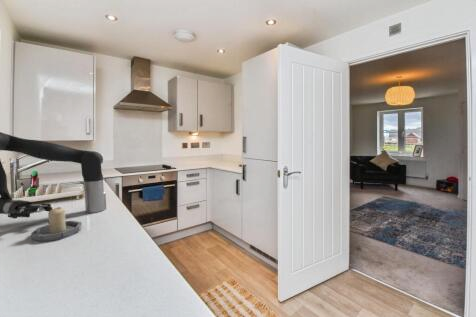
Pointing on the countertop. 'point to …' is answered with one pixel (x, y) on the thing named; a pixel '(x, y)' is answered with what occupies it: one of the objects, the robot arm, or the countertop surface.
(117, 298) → the countertop surface
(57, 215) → the candle
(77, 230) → the saucer
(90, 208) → the robot arm
